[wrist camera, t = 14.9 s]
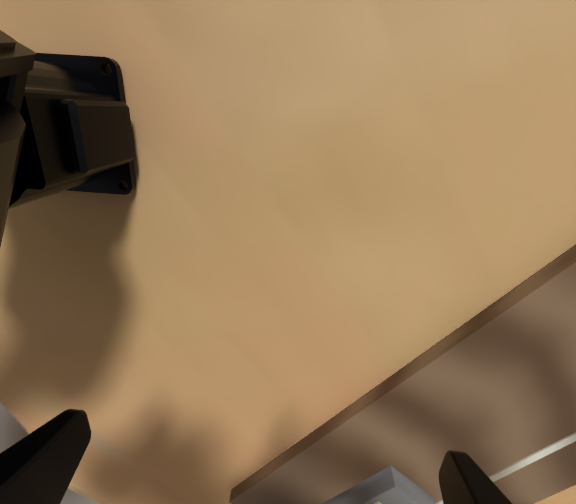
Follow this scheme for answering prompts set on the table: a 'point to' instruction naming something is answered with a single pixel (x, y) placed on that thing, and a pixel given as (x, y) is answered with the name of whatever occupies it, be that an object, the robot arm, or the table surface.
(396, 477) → the cube with dome top
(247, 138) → the table surface
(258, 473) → the walnut board
